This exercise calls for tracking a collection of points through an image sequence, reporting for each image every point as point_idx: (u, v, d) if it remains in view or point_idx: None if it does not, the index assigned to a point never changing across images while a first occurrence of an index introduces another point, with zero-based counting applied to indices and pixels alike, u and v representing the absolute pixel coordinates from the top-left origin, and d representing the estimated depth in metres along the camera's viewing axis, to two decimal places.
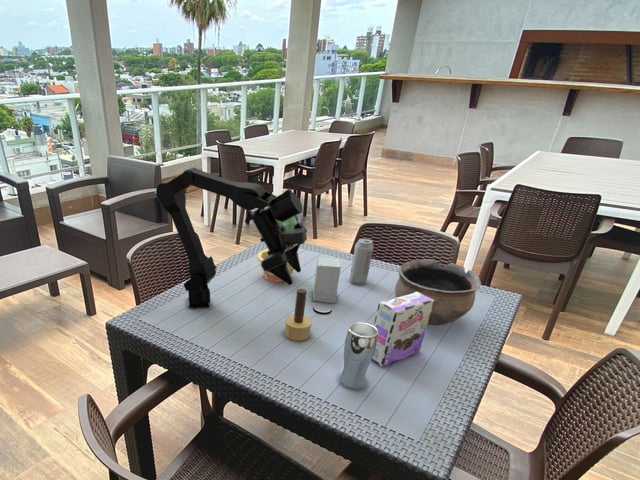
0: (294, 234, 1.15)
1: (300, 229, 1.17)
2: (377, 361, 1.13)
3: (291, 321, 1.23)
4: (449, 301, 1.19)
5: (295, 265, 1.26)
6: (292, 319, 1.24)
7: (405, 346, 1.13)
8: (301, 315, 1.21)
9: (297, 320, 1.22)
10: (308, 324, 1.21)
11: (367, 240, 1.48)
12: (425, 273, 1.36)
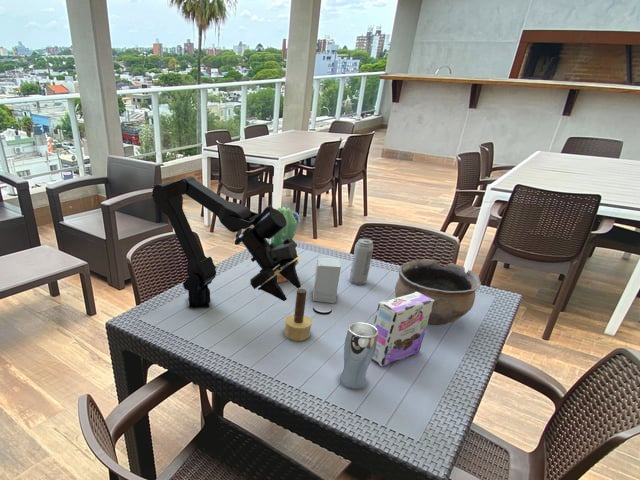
0: (280, 249, 1.13)
1: (288, 244, 1.15)
2: (377, 361, 1.13)
3: (291, 321, 1.23)
4: (449, 301, 1.19)
5: (294, 281, 1.23)
6: (292, 319, 1.24)
7: (405, 346, 1.13)
8: (301, 315, 1.21)
9: (297, 320, 1.22)
10: (308, 324, 1.21)
11: (367, 240, 1.48)
12: (425, 273, 1.36)
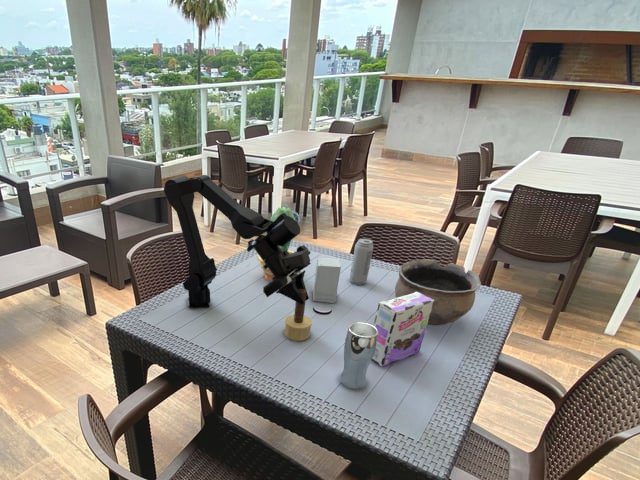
0: (294, 257, 1.12)
1: (301, 251, 1.14)
2: (377, 361, 1.13)
3: (291, 321, 1.23)
4: (449, 301, 1.19)
5: None
6: (292, 319, 1.24)
7: (405, 346, 1.13)
8: (301, 315, 1.21)
9: (297, 320, 1.22)
10: (308, 324, 1.21)
11: (367, 240, 1.48)
12: (425, 273, 1.36)
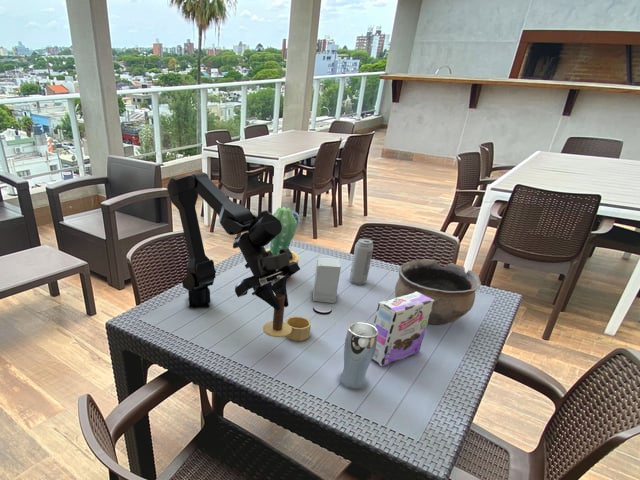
0: (269, 258, 1.05)
1: (281, 254, 1.06)
2: (377, 361, 1.13)
3: (269, 327, 1.15)
4: (449, 301, 1.19)
5: None
6: (272, 325, 1.16)
7: (405, 346, 1.13)
8: (278, 322, 1.13)
9: (274, 327, 1.14)
10: (285, 333, 1.13)
11: (367, 240, 1.48)
12: (425, 273, 1.36)
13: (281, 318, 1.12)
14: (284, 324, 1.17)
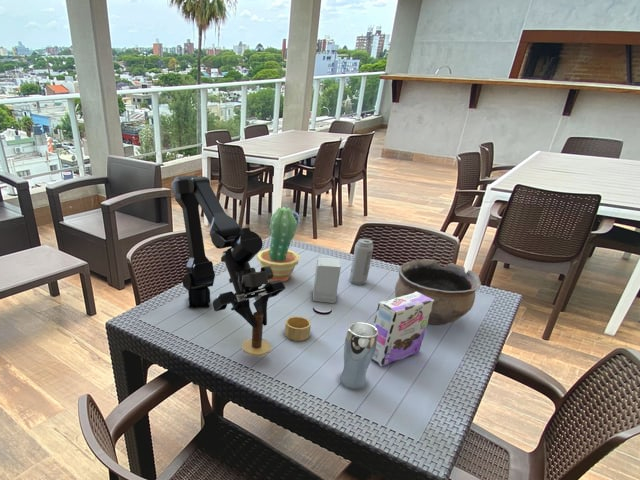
0: (246, 276, 1.04)
1: None
2: (377, 361, 1.13)
3: (249, 344, 1.14)
4: (449, 301, 1.19)
5: None
6: None
7: (405, 346, 1.13)
8: (256, 340, 1.11)
9: (252, 344, 1.12)
10: (262, 352, 1.11)
11: (367, 240, 1.48)
12: (425, 273, 1.36)
13: (259, 336, 1.10)
14: (265, 342, 1.15)
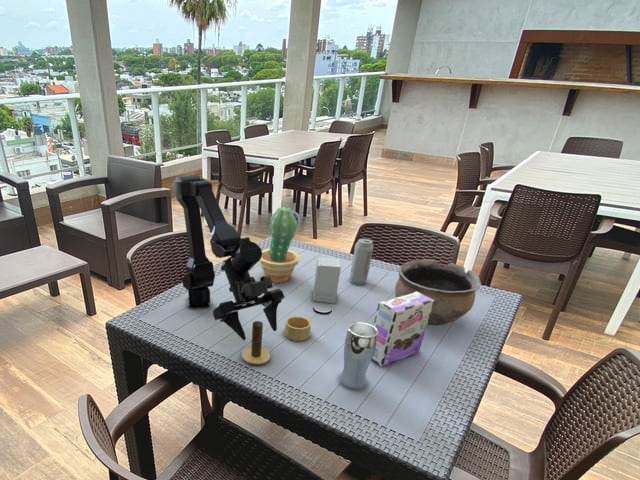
0: (246, 285, 1.05)
1: (259, 281, 1.05)
2: (377, 361, 1.13)
3: (248, 353, 1.16)
4: (449, 301, 1.19)
5: (271, 322, 1.12)
6: None
7: (405, 346, 1.13)
8: (256, 349, 1.13)
9: (252, 353, 1.14)
10: (261, 360, 1.12)
11: (367, 240, 1.48)
12: (425, 273, 1.36)
13: (258, 345, 1.12)
14: (264, 351, 1.16)
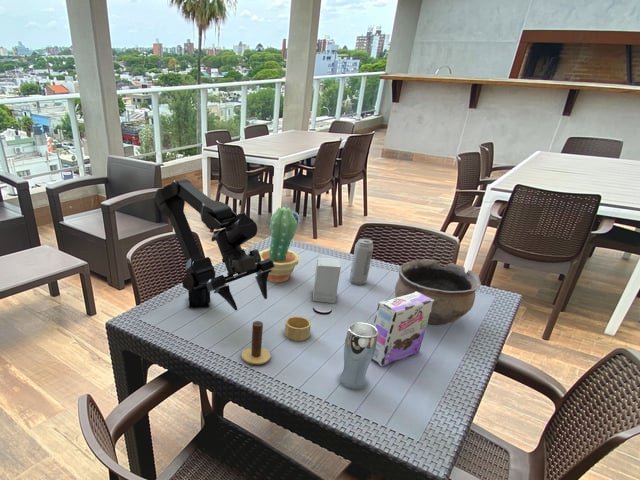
0: (235, 262, 1.11)
1: (248, 257, 1.11)
2: (377, 361, 1.13)
3: (248, 353, 1.16)
4: (449, 301, 1.19)
5: (262, 291, 1.20)
6: None
7: (405, 346, 1.13)
8: (256, 349, 1.13)
9: (252, 353, 1.14)
10: (261, 360, 1.12)
11: (367, 240, 1.48)
12: (425, 273, 1.36)
13: (258, 345, 1.12)
14: (264, 351, 1.16)
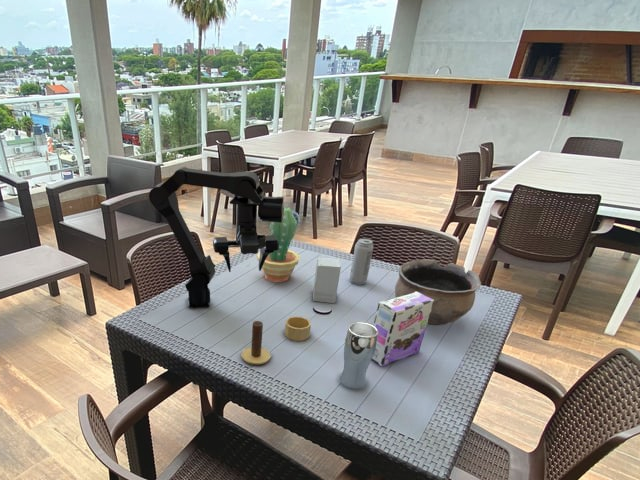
0: (241, 241, 1.20)
1: (253, 242, 1.19)
2: (377, 361, 1.13)
3: (248, 353, 1.16)
4: (449, 301, 1.19)
5: (259, 263, 1.31)
6: None
7: (405, 346, 1.13)
8: (256, 349, 1.13)
9: (252, 353, 1.14)
10: (261, 360, 1.12)
11: (367, 240, 1.48)
12: (425, 273, 1.36)
13: (258, 345, 1.12)
14: (264, 351, 1.16)
